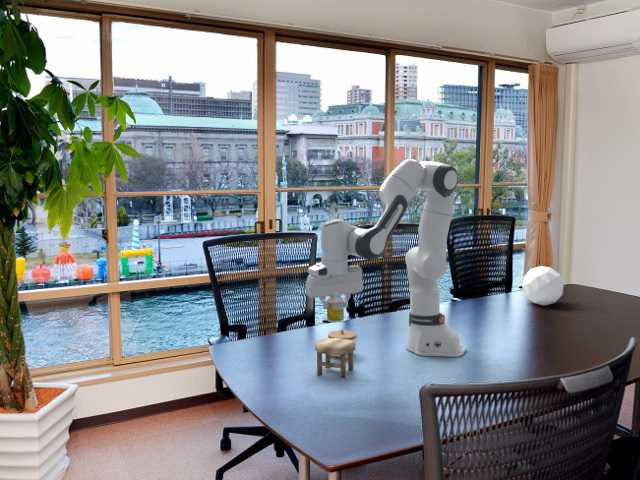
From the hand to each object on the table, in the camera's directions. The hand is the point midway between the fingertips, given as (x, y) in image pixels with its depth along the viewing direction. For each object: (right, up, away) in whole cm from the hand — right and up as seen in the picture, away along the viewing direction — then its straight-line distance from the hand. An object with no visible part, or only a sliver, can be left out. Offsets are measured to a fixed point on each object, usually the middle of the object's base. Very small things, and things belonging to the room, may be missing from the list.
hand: (335, 307), depth 207 cm
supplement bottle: (0, -5, +1) cm, 5 cm away
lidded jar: (+3, -20, +23) cm, 31 cm away
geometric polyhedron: (+106, -9, +97) cm, 144 cm away
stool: (0, -23, +3) cm, 23 cm away
